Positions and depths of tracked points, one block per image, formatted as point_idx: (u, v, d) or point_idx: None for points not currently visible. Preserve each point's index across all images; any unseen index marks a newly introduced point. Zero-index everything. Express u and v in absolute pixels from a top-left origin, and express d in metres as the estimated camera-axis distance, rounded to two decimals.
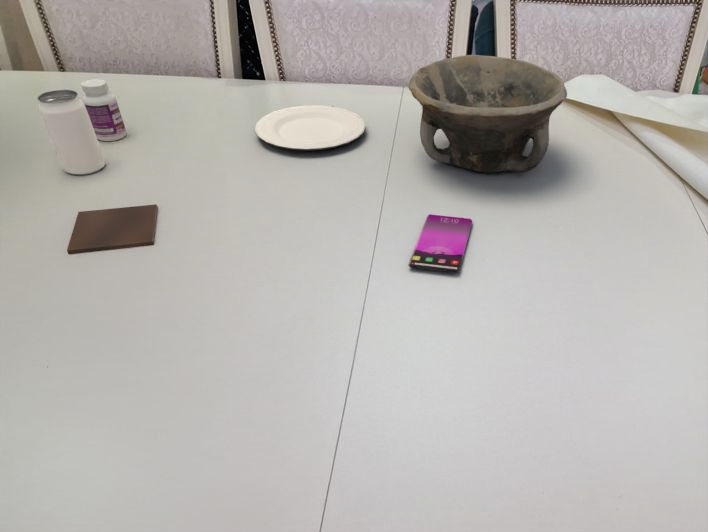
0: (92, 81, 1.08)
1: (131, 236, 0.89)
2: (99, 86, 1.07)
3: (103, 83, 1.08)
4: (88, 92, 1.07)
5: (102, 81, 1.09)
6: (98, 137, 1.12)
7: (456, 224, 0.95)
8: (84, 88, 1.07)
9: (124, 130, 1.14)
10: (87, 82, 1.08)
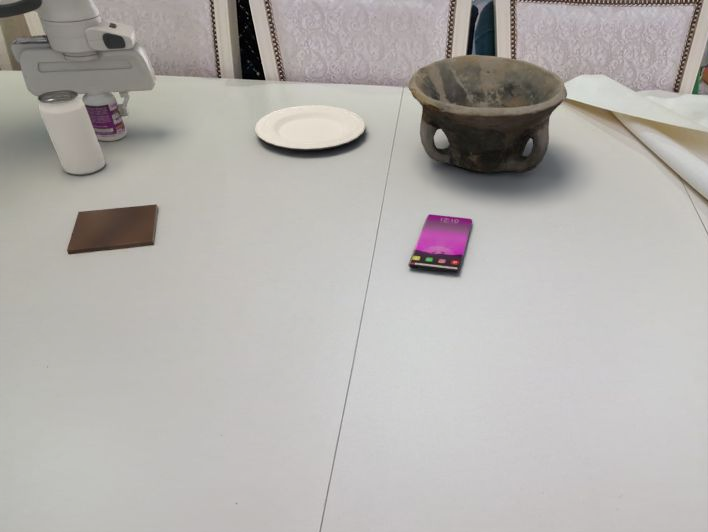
0: None
1: (131, 236, 0.89)
2: None
3: None
4: (88, 92, 1.07)
5: None
6: (98, 137, 1.12)
7: (456, 224, 0.95)
8: None
9: (124, 130, 1.14)
10: None
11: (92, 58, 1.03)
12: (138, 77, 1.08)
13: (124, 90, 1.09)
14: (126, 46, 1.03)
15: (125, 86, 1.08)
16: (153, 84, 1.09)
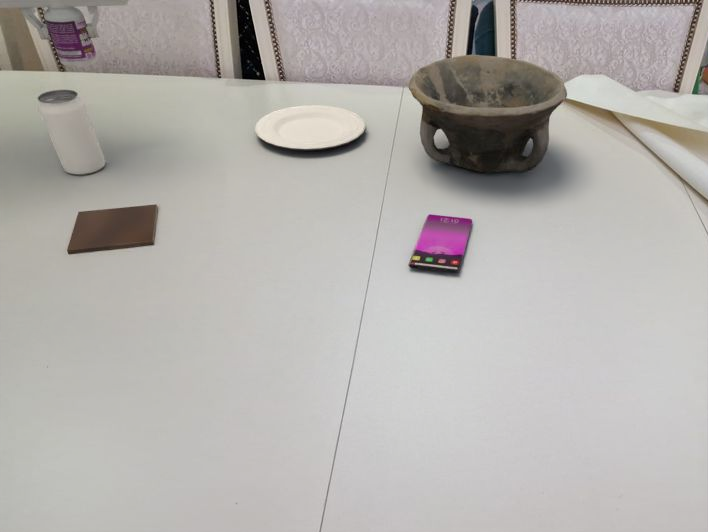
0: None
1: (131, 236, 0.89)
2: None
3: None
4: None
5: None
6: (64, 62, 0.96)
7: (456, 224, 0.95)
8: None
9: (94, 55, 0.98)
10: None
11: None
12: None
13: (93, 4, 0.93)
14: None
15: None
16: None
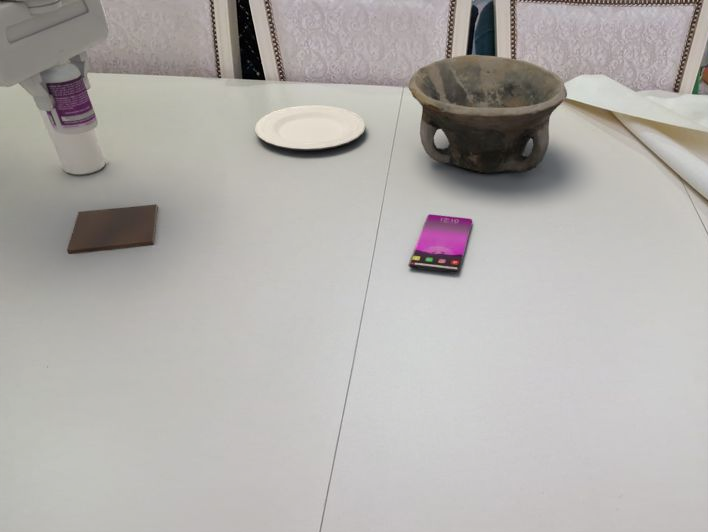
0: None
1: (131, 236, 0.89)
2: None
3: None
4: None
5: None
6: (79, 129, 0.79)
7: (456, 224, 0.95)
8: None
9: None
10: None
11: (61, 4, 0.72)
12: (96, 24, 0.79)
13: (88, 47, 0.78)
14: None
15: (88, 41, 0.78)
16: (108, 31, 0.82)
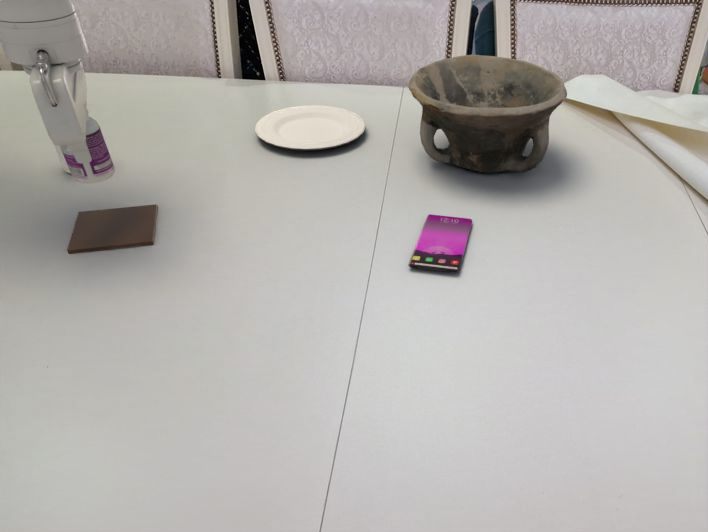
0: None
1: (131, 236, 0.89)
2: None
3: None
4: (86, 114, 0.79)
5: None
6: (109, 174, 0.84)
7: (456, 224, 0.95)
8: None
9: None
10: None
11: None
12: (81, 75, 0.84)
13: (86, 99, 0.83)
14: None
15: (85, 92, 0.83)
16: None
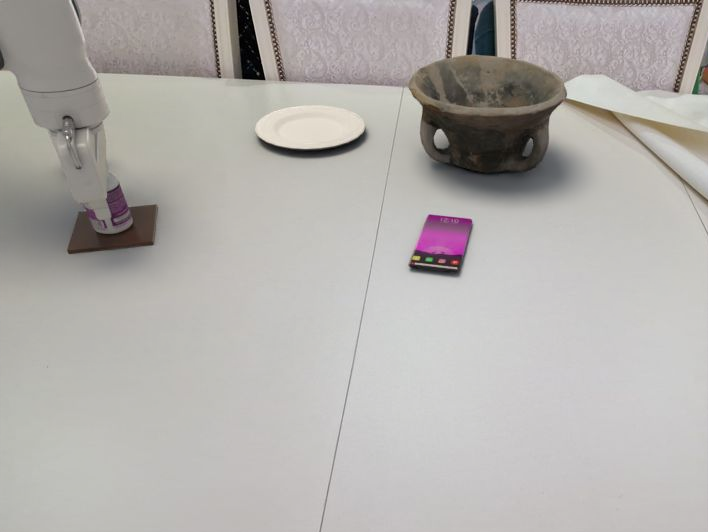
0: None
1: (131, 236, 0.89)
2: None
3: None
4: None
5: None
6: (127, 225, 0.89)
7: (456, 224, 0.95)
8: None
9: None
10: None
11: None
12: (101, 130, 0.89)
13: None
14: None
15: (105, 146, 0.88)
16: None
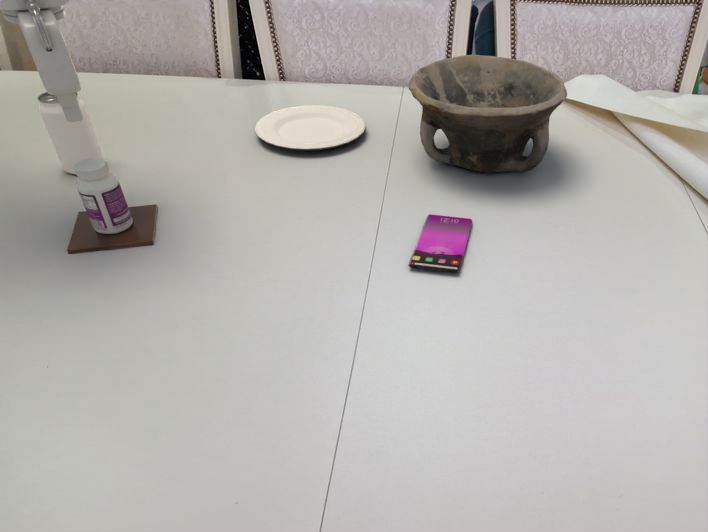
0: (84, 165, 0.84)
1: (131, 236, 0.89)
2: (103, 160, 0.85)
3: (93, 159, 0.85)
4: (106, 172, 0.85)
5: (86, 160, 0.85)
6: (127, 225, 0.89)
7: (456, 224, 0.95)
8: (103, 169, 0.84)
9: None
10: (87, 167, 0.83)
11: None
12: None
13: None
14: None
15: None
16: None
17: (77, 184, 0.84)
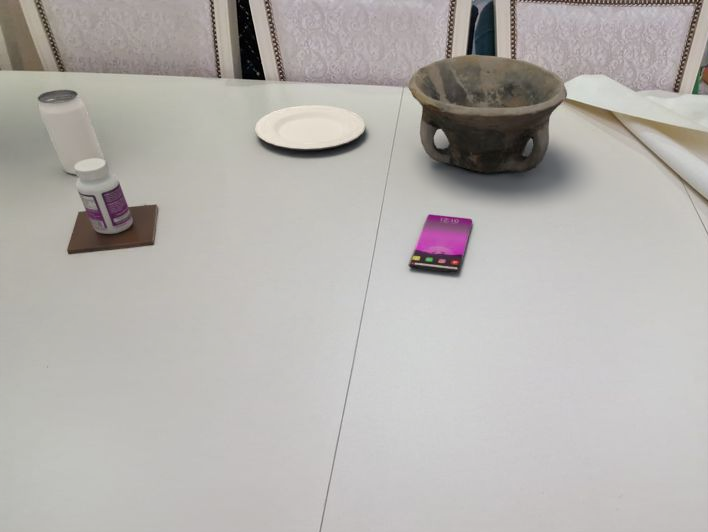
0: (84, 165, 0.84)
1: (131, 236, 0.89)
2: (103, 160, 0.85)
3: (93, 159, 0.85)
4: (106, 172, 0.85)
5: (86, 160, 0.85)
6: (127, 225, 0.89)
7: (456, 224, 0.95)
8: (102, 169, 0.84)
9: None
10: (87, 167, 0.83)
11: None
12: None
13: None
14: None
15: None
16: None
17: (77, 184, 0.84)
